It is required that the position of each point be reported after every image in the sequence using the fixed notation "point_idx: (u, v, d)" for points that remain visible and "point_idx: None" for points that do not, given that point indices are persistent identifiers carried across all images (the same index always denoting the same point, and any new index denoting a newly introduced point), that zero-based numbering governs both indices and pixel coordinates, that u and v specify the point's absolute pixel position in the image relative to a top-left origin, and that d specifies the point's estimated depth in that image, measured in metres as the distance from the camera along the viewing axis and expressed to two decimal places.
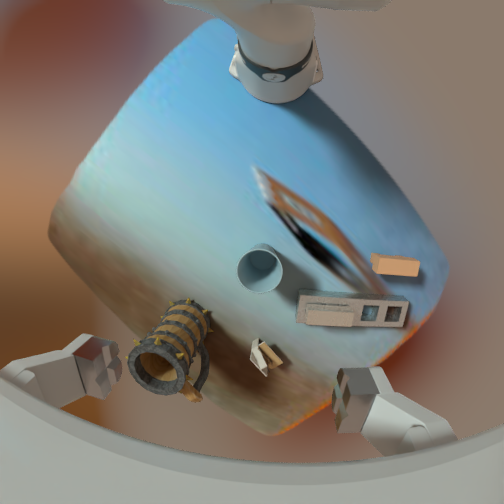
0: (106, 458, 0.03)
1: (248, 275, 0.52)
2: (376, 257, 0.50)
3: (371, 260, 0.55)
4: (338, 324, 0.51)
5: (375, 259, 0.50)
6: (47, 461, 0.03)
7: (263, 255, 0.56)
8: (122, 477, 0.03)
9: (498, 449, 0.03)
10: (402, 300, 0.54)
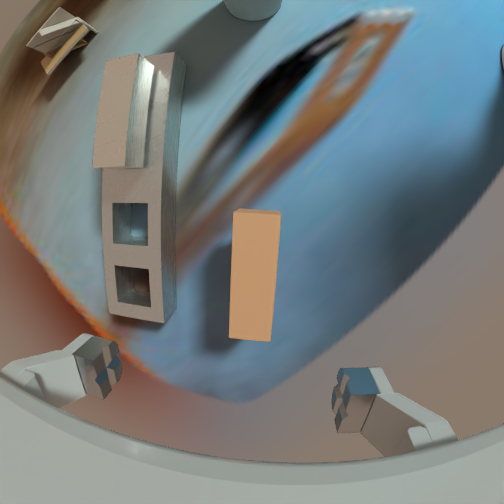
0: (106, 458, 0.03)
1: None
2: (275, 212, 0.19)
3: None
4: (98, 132, 0.18)
5: (268, 211, 0.20)
6: (47, 461, 0.03)
7: None
8: (122, 477, 0.03)
9: (498, 449, 0.03)
10: (165, 306, 0.25)
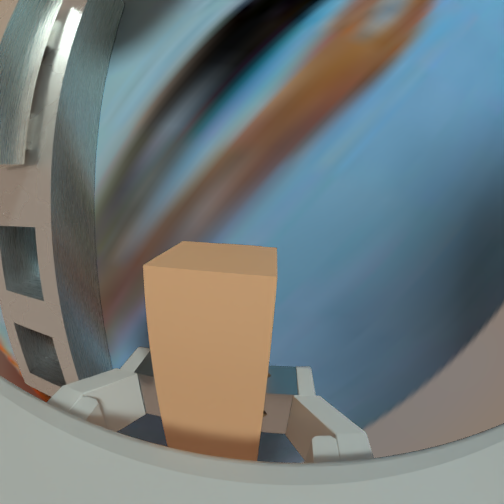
0: (106, 458, 0.03)
1: None
2: (263, 256, 0.08)
3: None
4: None
5: (246, 252, 0.08)
6: (47, 461, 0.03)
7: None
8: (122, 477, 0.03)
9: (498, 449, 0.03)
10: None
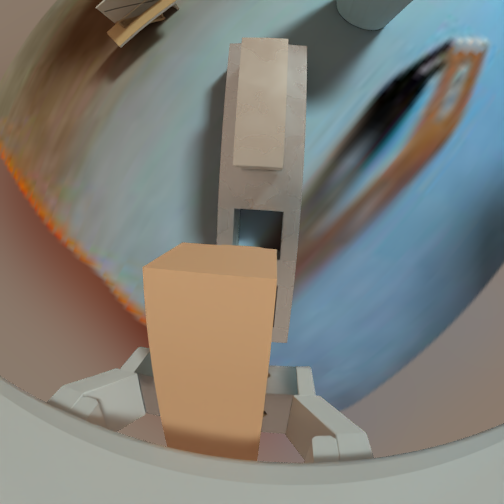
0: (106, 458, 0.03)
1: None
2: (263, 258, 0.08)
3: None
4: (241, 122, 0.16)
5: (246, 254, 0.08)
6: (47, 461, 0.03)
7: None
8: (122, 477, 0.03)
9: (498, 449, 0.03)
10: None
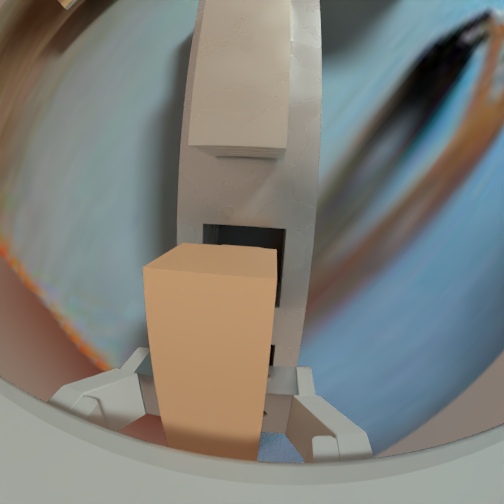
0: (106, 458, 0.03)
1: None
2: (263, 258, 0.08)
3: None
4: (206, 67, 0.08)
5: (246, 254, 0.08)
6: (47, 461, 0.03)
7: None
8: (122, 477, 0.03)
9: (498, 449, 0.03)
10: None
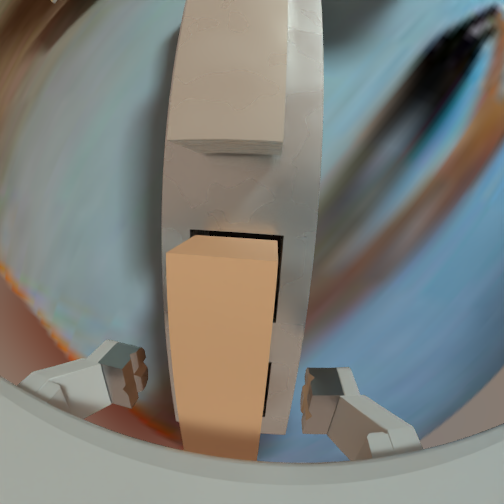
0: (106, 458, 0.03)
1: None
2: (266, 247, 0.09)
3: None
4: (190, 50, 0.06)
5: (252, 243, 0.09)
6: (47, 461, 0.03)
7: None
8: (122, 477, 0.03)
9: (498, 449, 0.03)
10: None
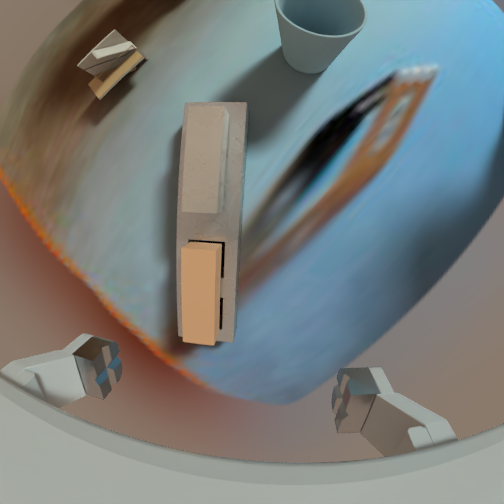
0: (106, 458, 0.03)
1: (291, 11, 0.19)
2: (215, 246, 0.25)
3: None
4: (187, 179, 0.22)
5: (211, 245, 0.25)
6: (47, 461, 0.03)
7: None
8: (122, 477, 0.03)
9: (498, 449, 0.03)
10: (234, 327, 0.29)
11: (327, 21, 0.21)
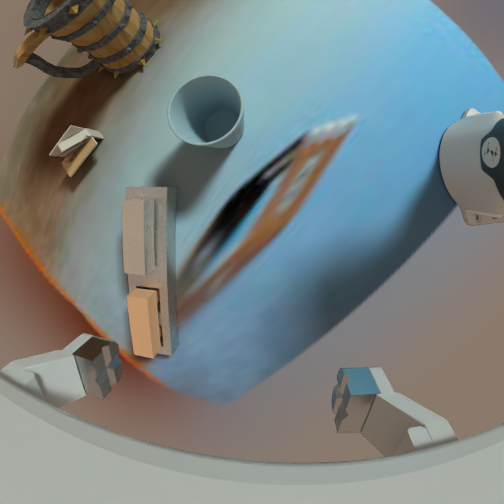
0: (106, 458, 0.03)
1: (196, 102, 0.29)
2: (149, 293, 0.35)
3: None
4: (125, 252, 0.32)
5: (147, 292, 0.35)
6: (47, 461, 0.03)
7: (226, 128, 0.34)
8: (122, 477, 0.03)
9: (498, 449, 0.03)
10: (172, 345, 0.39)
11: (231, 102, 0.30)
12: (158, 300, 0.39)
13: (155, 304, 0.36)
